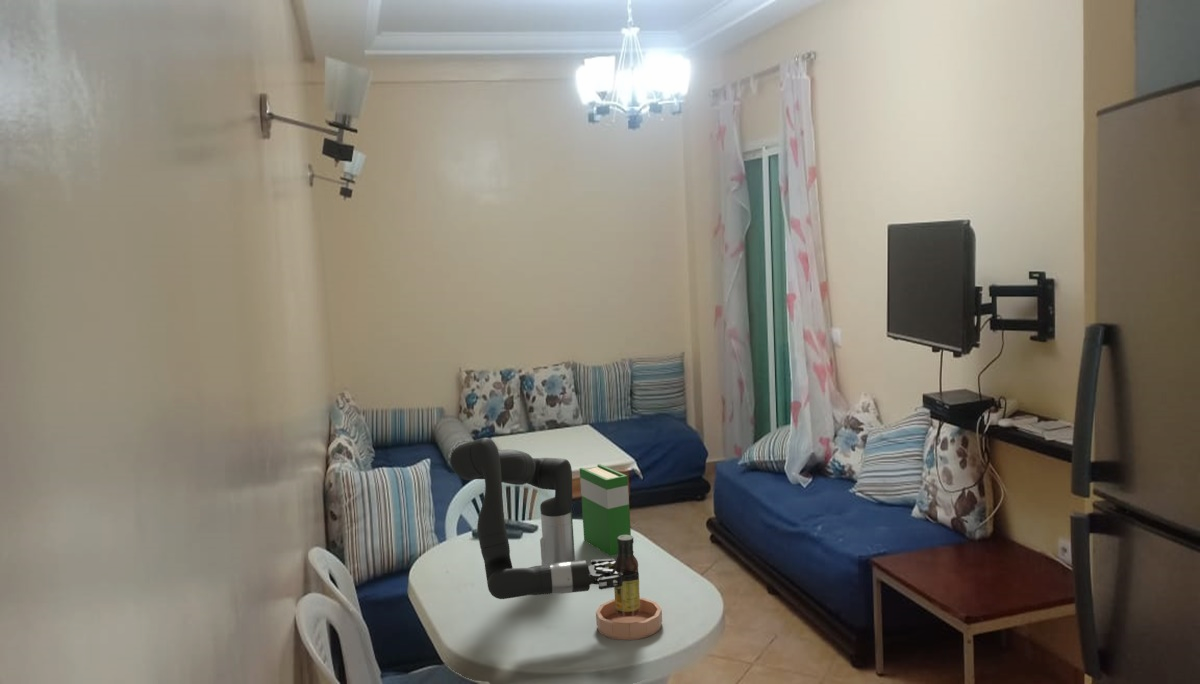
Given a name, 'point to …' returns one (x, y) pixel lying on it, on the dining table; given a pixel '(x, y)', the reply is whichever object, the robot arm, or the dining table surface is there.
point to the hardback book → (604, 507)
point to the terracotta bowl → (629, 621)
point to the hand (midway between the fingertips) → (635, 570)
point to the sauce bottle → (629, 591)
